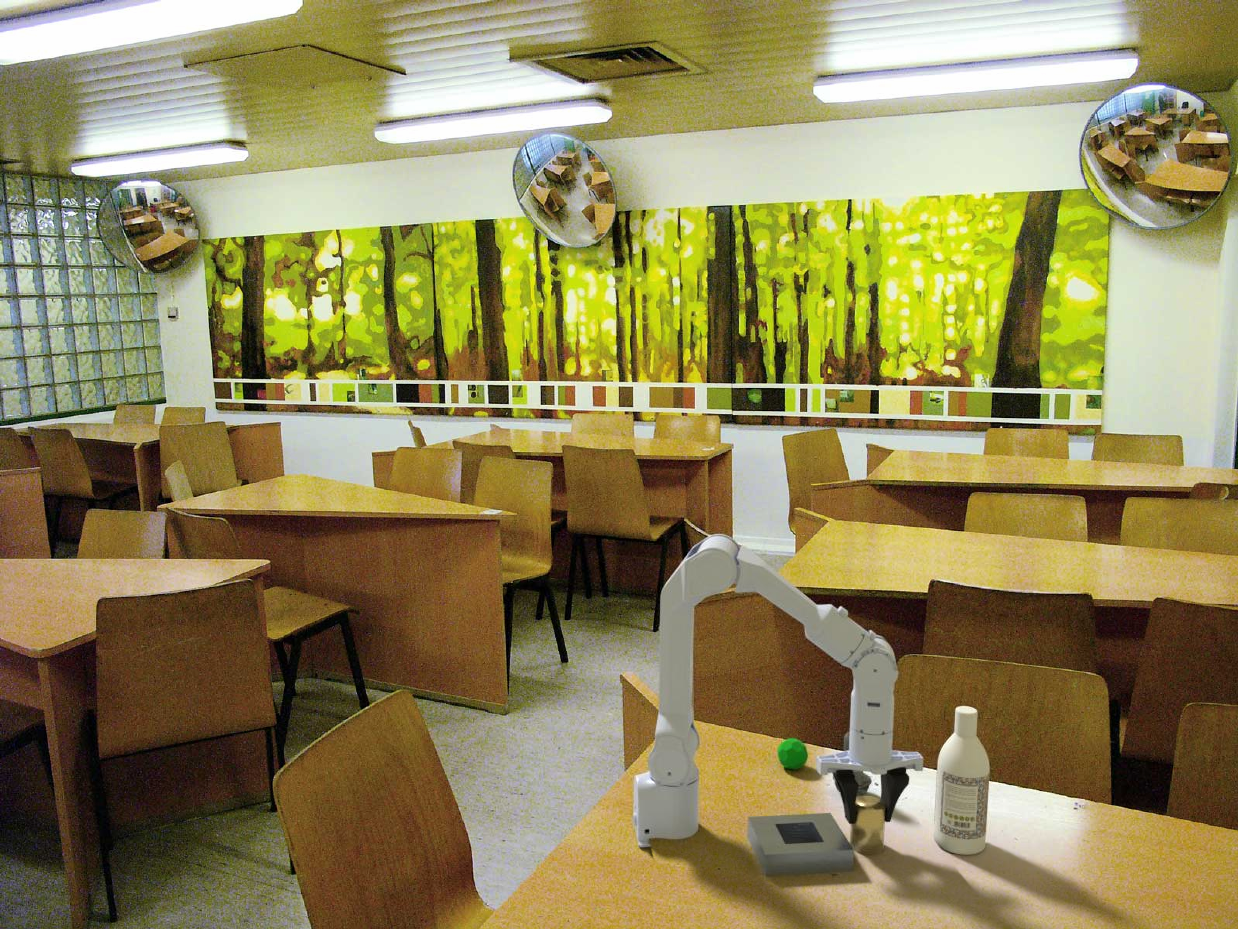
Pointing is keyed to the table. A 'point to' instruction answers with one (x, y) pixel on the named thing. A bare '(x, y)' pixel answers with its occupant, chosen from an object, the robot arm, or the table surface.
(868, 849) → the plug
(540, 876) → the table surface
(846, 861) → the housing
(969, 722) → the bath foam
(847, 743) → the grey chess piece
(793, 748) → the polyhedron
